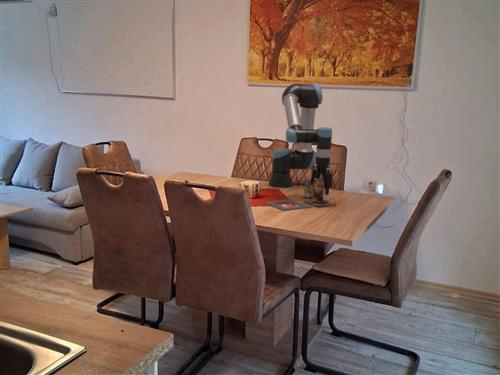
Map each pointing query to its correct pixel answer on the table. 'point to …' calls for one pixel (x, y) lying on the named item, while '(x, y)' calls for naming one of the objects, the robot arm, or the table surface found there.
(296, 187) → the table surface
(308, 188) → the mug
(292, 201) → the frame
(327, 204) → the walnut pad
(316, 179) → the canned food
